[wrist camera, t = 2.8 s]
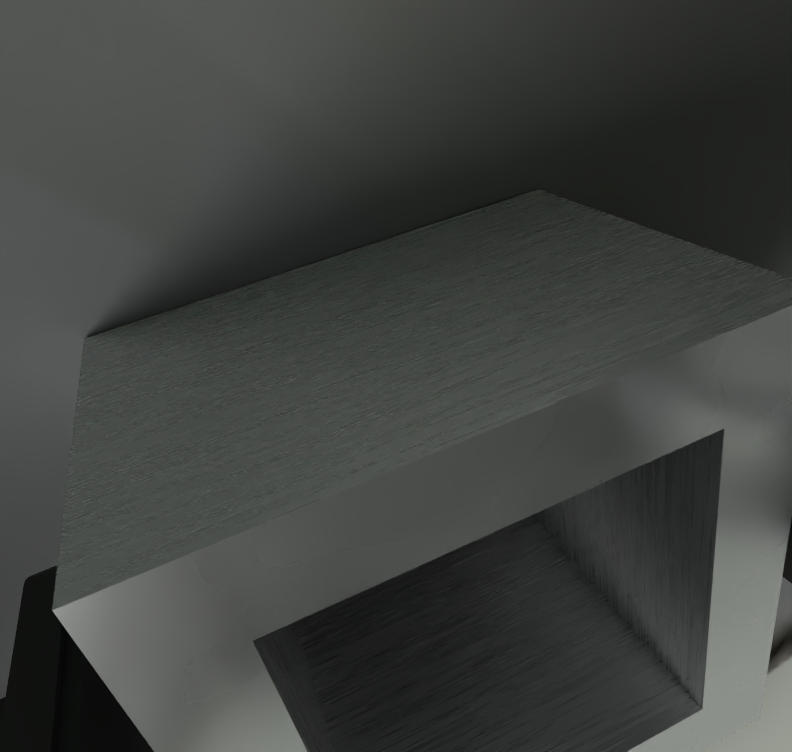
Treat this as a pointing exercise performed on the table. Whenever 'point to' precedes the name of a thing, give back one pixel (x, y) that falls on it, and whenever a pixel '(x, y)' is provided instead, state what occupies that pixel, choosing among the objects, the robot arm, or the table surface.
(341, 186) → the table surface
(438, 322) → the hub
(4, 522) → the table surface
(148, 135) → the table surface
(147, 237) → the table surface
